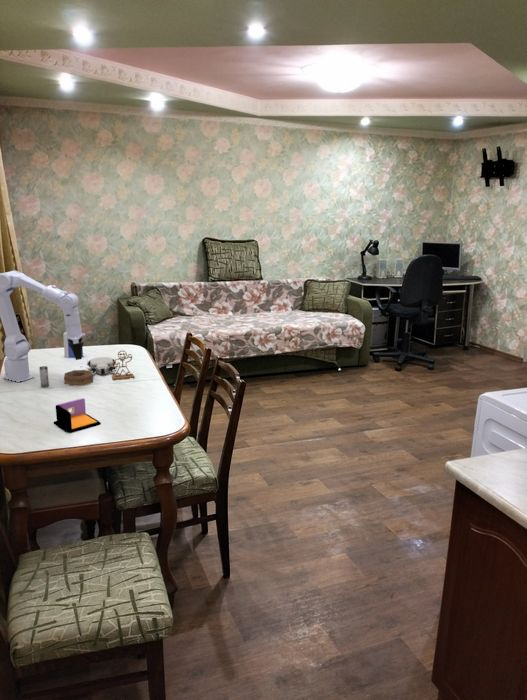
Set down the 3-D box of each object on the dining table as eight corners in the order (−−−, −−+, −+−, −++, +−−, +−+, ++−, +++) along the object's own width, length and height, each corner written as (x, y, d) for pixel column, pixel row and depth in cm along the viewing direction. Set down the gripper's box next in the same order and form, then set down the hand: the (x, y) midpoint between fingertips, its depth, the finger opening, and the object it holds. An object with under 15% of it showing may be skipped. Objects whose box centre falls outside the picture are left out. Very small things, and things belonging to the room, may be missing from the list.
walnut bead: (58, 382, 222) (58, 375, 221) (79, 375, 231) (79, 368, 231) (78, 387, 217) (77, 380, 216) (98, 379, 226) (98, 372, 226)
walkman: (83, 356, 258) (81, 332, 254) (80, 358, 255) (79, 333, 252) (67, 355, 258) (65, 331, 255) (64, 357, 256) (62, 332, 252)
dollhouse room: (52, 423, 183) (50, 404, 181) (85, 414, 191) (84, 396, 190) (68, 434, 175) (66, 415, 173) (102, 424, 183) (101, 405, 181)
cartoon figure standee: (113, 380, 226) (111, 352, 223) (111, 377, 230) (110, 350, 227) (134, 378, 230) (133, 351, 226) (133, 375, 233) (132, 348, 230)
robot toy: (118, 377, 233) (115, 364, 247) (117, 367, 232) (115, 355, 245) (88, 379, 230) (87, 366, 243) (87, 369, 228) (86, 357, 241)
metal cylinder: (39, 386, 216) (37, 367, 214) (45, 384, 219) (43, 365, 217) (44, 388, 215) (42, 368, 213) (50, 386, 217) (49, 367, 215)
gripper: (84, 326, 211) (89, 359, 215) (82, 319, 224) (87, 351, 228) (65, 328, 209) (70, 362, 212) (64, 322, 222) (69, 354, 225)
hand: (78, 357), depth 220 cm, fingers open, 7 cm apart
